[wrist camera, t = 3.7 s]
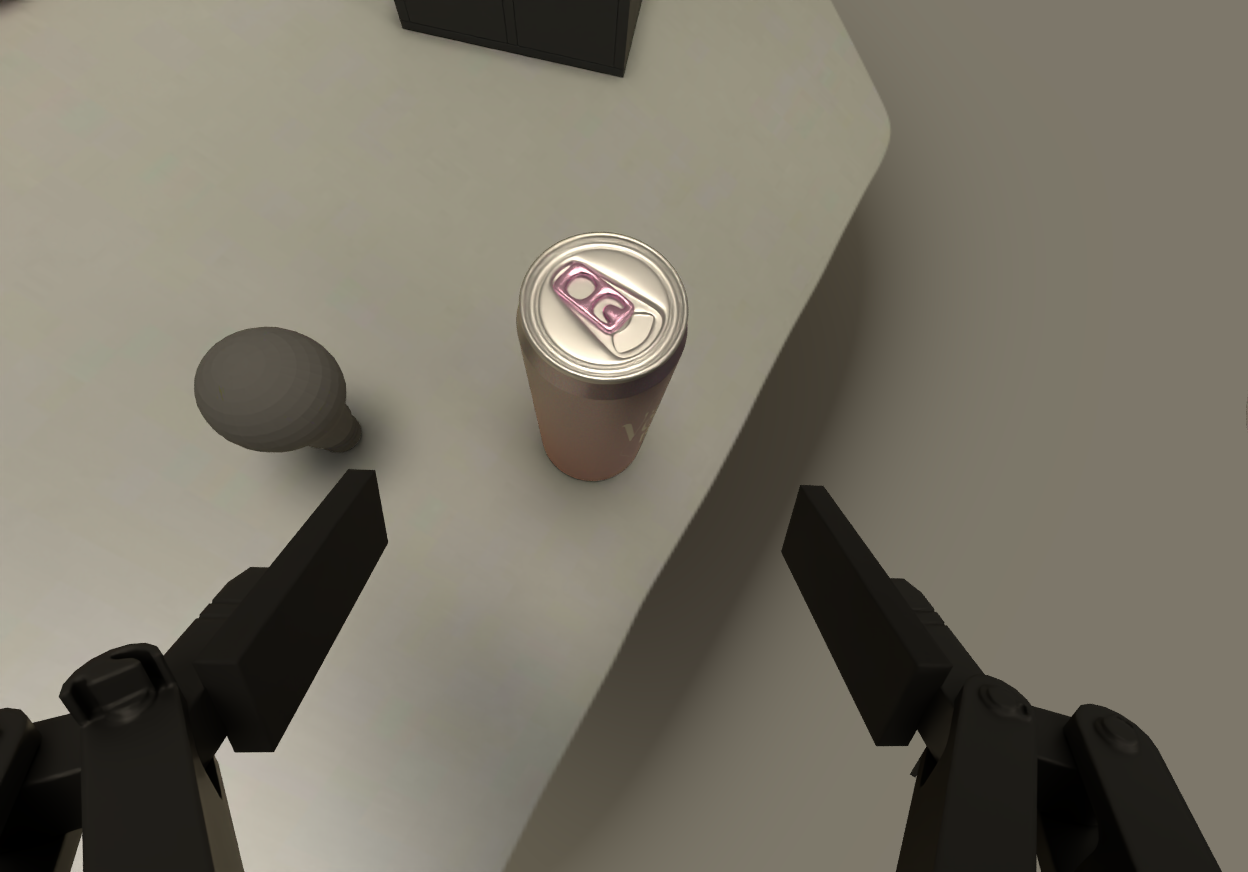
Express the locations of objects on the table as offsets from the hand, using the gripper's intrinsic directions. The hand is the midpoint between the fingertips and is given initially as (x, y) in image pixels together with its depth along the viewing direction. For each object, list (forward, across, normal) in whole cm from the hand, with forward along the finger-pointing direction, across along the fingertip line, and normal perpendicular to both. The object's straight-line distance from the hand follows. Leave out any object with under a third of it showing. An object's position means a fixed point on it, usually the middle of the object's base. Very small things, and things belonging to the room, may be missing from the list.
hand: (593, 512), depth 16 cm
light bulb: (+14, -14, -6) cm, 21 cm away
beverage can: (+14, 0, -5) cm, 15 cm away
